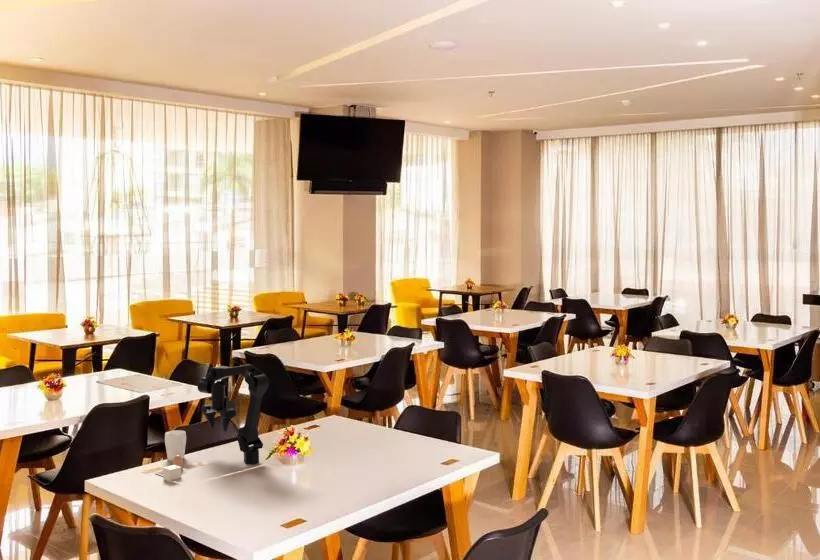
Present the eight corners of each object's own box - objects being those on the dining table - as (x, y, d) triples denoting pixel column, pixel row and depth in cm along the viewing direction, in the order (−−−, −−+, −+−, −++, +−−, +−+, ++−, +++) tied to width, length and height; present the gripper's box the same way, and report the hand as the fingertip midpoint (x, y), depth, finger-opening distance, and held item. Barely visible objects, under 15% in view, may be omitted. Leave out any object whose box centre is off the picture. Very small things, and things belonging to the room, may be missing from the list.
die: (181, 479, 326) (181, 466, 326) (170, 482, 322) (170, 469, 322) (174, 476, 329) (174, 464, 329) (163, 479, 326) (163, 467, 325)
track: (202, 462, 350) (202, 460, 349) (211, 465, 345) (211, 463, 345) (154, 474, 332) (154, 472, 332) (163, 477, 328) (163, 475, 328)
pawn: (184, 469, 337) (184, 455, 336) (176, 471, 334) (175, 457, 334) (179, 467, 340) (179, 453, 339) (171, 469, 337) (170, 455, 336)
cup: (160, 461, 352) (160, 433, 351) (175, 455, 360) (175, 429, 359) (176, 463, 348) (175, 436, 347) (191, 458, 356) (190, 431, 355)
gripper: (246, 394, 357) (246, 429, 358) (220, 389, 369) (221, 423, 370) (225, 398, 348) (225, 434, 349) (199, 393, 360) (200, 427, 361)
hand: (218, 429), depth 358 cm, fingers open, 9 cm apart
